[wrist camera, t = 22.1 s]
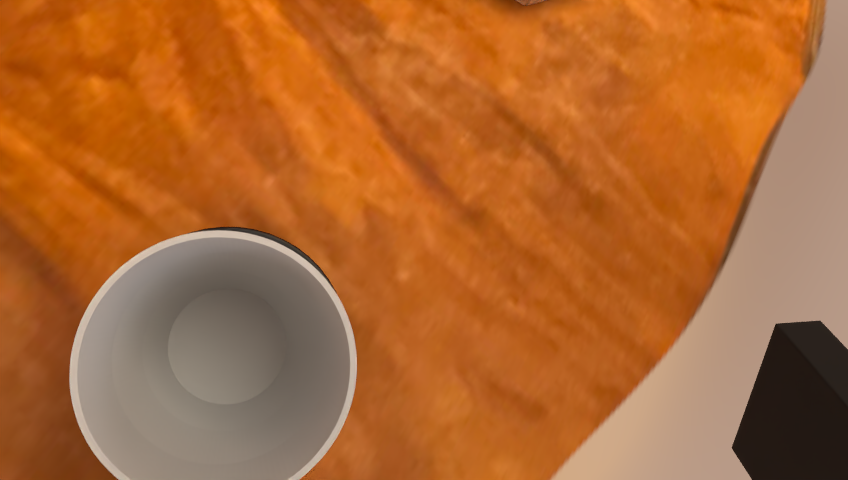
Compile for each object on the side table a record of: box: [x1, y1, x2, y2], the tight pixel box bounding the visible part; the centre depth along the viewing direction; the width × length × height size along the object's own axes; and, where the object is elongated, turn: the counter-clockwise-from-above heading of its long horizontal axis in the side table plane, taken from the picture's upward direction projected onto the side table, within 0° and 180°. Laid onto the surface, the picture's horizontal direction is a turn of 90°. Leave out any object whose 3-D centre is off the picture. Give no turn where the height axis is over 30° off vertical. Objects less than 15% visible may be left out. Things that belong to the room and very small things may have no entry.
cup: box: [70, 230, 357, 480], centre depth 27 cm, size 8×8×10 cm
